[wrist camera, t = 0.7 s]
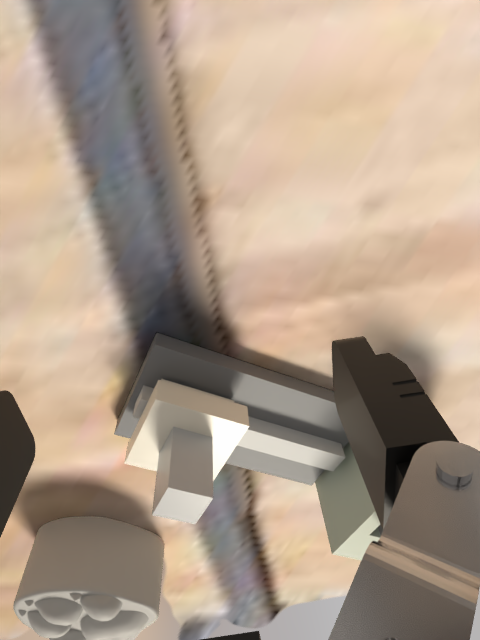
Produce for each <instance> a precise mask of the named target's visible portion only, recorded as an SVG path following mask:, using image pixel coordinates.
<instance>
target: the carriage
mask: <svg viewBox="0 0 480 640" xmlns="http://www.w3.org/2000/svg"><path fill="white" fill-rule="evenodd" d="M248 428H249V418H248V408H247V406H244V405H241V404H238V403H234V400H230V399H227V398H224V397H221V396H217V395H214V394H211V393H207V392H204V391H201V390H197V389H194V388H191V387H188V386H184V385H181V384H178V383H174V382H171V381H168V380H164V379H161V380H158V382H157V384H156V386H155V388H154V390H153V392H152V394H151V396H150V398H149V401H148V403H147V405H146V407H145V409H144V411H143V413H142V415H141V417H140V419H139V421H138V424H137V426H136V428H135V430H134V432H133V434H132V436H131V438H130V440H129V442H128V447H127V452H126V458H125V463H124V464H128V465H132V466H137V467H141V468H145V469H149V470H153V471H157V475H156V484H155V492H154V501H153V510H152V515H154V516H159V517H163V518H168V519H173V520H177V521H182V522H187V523H191V524H196V523H197V521H198V520H199V518H200V517H201V515H202V514H203V512H204V511H205V509H206V508H207V506H208V505H209V503H210V502H211V501H212V499H213V481H214V479H215V477H216V476H217V474H218V473H219V471H220V470H221V468H222V467H223V465H224V464H225V462H226V461H227V459H228V458H229V456H230V455H231V453H232V452H233V450H234V449H235V447H236V446H237V444H238V443H239V441H240V440H241V438H242V437H243V435H244V434H245V432H246V431H247V429H248Z"/></svg>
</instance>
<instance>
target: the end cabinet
mask: <svg viewBox="0 0 480 640" xmlns="http://www.w3.org/2000/svg"><path fill="white" fill-rule="evenodd" d="M343 451H344V454H345V459H344V460H343V461H342V462H341V463H340V464H339V465H338V467H337V468H336V469H335V470H334V471H333V472H332V471H329V470H324V472H323V473H322V474H321V475H320V476H319V478H318V479H317V480H316V481H315V483H316V487H317V492H318V496H319V500H320V504H321V509H322V513H323V517H324V522H325V526H326V530H327V534H328V539H329V543H330V547H331V551H332V554H333V555H338V556H343V557H348V558H352V559H357V560H362V558H363V556H364V554H365V552H366V550H367V548H368V546H369V544H370V543H371V542H372V541H376V542H378V540H379V539H380V537H381V535H380V532H379V529H378V526H379V525H380V522H379V519H378V516H377V514H376V511H375V509H374V506H373V503H372V501H371V498H370V496H369V493H368V490H367V488H366V485H365V483H364V480H363V477H362V475H361V472H360V470H359V467H358V464H357V462H356V459H355V457H354V454H353V451H352V449H351V446H350V444H349V442H348V443H347V444H346V445H345V447H344V448H343Z"/></svg>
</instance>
